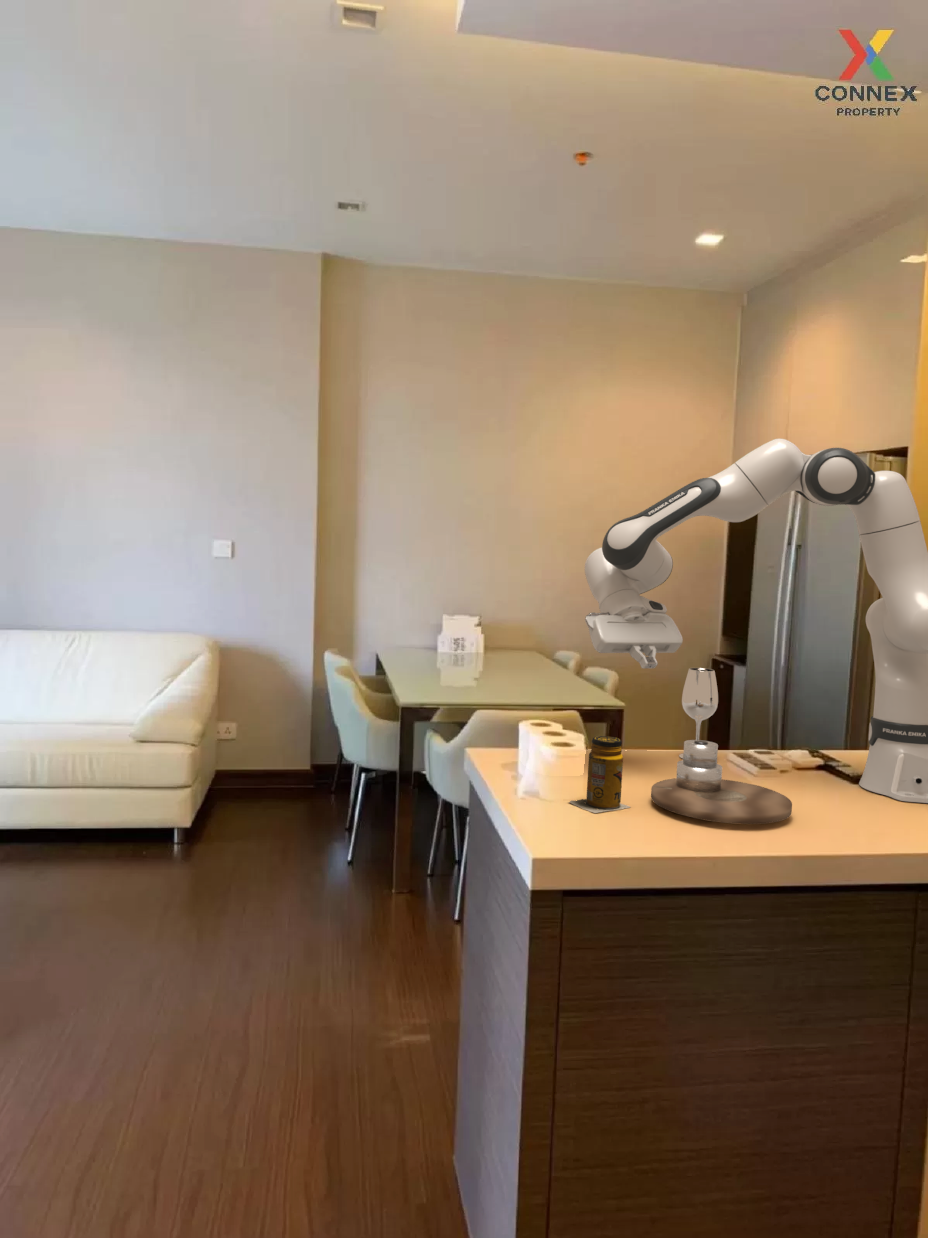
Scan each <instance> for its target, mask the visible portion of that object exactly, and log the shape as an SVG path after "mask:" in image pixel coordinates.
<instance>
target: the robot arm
mask: <svg viewBox="0 0 928 1238" xmlns="http://www.w3.org/2000/svg"><path fill="white" fill-rule="evenodd" d="M791 492H795V493H798V494H799V495H801V497H803V498H804V499H806V500H807V501H809V502H811V503H813V504H816V505H819V506H825V507H834V506H838V505H839V506H840V505H845V506H847V508H849V510H850V511H851V512H852V514H853V516H854V518H855V522H856V527H857V531H858V536H859V540H860V544H861V548H862V549H861V550H862V552H863V558H864V562H865V566H866V570H867V573H868V575H869V576H870V577H871V578H872V580H873V581H874V583H875V585H876V587H877V589H878V591H879V593H880V594H881V598H879V599H876V600H875V601H874V602H873V603H871V605H870V606H869V607H868V609H867V611H866V614H865V624H866V628H867V631H868V632H869V635H870V641H871V648H872V655H873V657H872V658H873V662H874V663H873V664H874V673H875V684H874V688H875V689H874V703H873V714H872V716H871V717H870V720H869V721H870V722H869V725H868V743H869V748H868V754H867V756H866V761H865V762H866V763H865V767H864V769H863V773H862V775H861V778H860V780H859V782H858V785H859V786H860V787H861V788H863V789H865V790H867V791H870V792H873V793H876V794H880V795H884V796H887V797H889V798H892V799H894V800H897V801H902V802H909V803H922V804H928V547H927V544H926V540H925V534H924V531H923V527H922V523H921V518H920V514H919V511H918V507H917V504H916V502H915V499H914V496H913V494H912V491H911V489H910V486H909V484H908V483H907V480H906V478H905V477H904V476H903V475H902V474H901V473H900V472H896V471H892V470H877V471H874V470H873V469H872V468H870V466H869V465H867V464H866V463H865V461H863V459H862V458H860V456H858V455H857V454H856V453H855V452H853V451H852V450H849V449H847V448H844V447H843V448H842V447H831V448H830V447H829V448H826V449H825V448H824V449H823V450H819V451H817V452H815V453H813V454H805V453H804V452H802V451H801V450H800V448H799V447H798V446H797V445H796V444H795V443H793V442H791V441H790V440H788V439H785V438H775V439H774V438H773V439H772V440H770V441H768V442H765V443H763V444H762V445H760V446H758V447H756V448H755V449H753V450H751V451H750V452H748V453H747V454H745V455H743V456H742V457H741V458H739V459H738V460H736V461H735V462H734V463H733V464H731V465H729V466H728V467H726V468H725V469H724V470H721V471H720V472H718V473H716V474H714V475H711V476H709V477H702V478H699V479H696V480H694V481H691V482H689V483H688V484H686V485H684V486H682V487H680V489H678V490H676V491H674V492H673V493H671V494H669V495H667V496H666V497H664V498H662V499H661V500H659V501H657V502H655V503H654V504H652V505H651V506H649V507H647V508H645V509H644V510H643V511H641V512H639V513H637V514H635V515H632V516H629V517H626V518H623V519H621V520H618V521H617V522H615V523H614V524H612V525H611V526H610V528H609V529H608V530H607V531H606V533H605V535H604V537H603V540H602V544H601V545H602V546H601V547H598V548H596V549H595V550H594V551H592V552H591V553H590V554H589V556H588V557H587V558H586V560H585V563H584V574H585V579H586V581H587V584H588V587H589V590H590V592H591V595H592V597H593V598H594V599H595V600H596V601H597V603H598V609H599V612H592V611H591V612H589V613H588V614H587V615H585V618H584V621H585V622H584V623H585V624H586V627H587V628H588V632H589V637H590V640H591V641H590V642H591V644H592V646H593V648H594V650H595V651H596V652H598V653H600V654H620V653H621V654H629V655H630V657H631V658H632V659H634V660H635V661H636V662H638V663H639V665H640V668H641V669H656V667H657V666H658V664H659V663H658V661H657V658H656V655H657V653H658V654H659V653H660V654H661V653H663V654H664V653H668V654H669V653H671V654H673V653H674V654H675V653H676V652H677V650H679V648H680V647H681V646H682V644H683V641H684V640H683V636H682V634H681V632H680V629H679V627H678V625H677V624H676V622H675V621H674V619H673V618H672V617H671V616H669V614H666V613H667V611H668V609H667V606H666V605H665V604H664V603H662V602H658V601H656V600H652V599H650V598H647V597H645V596H643V595H642V594H645V593H647V592H649V591H651V590H654V589H655V588H658V587H660V586H661V585H662V584H664V583H665V582H666V581H667V580H668V579H669V577H670V576H671V573H672V572H673V567H674V562H673V557H672V555H671V553H670V552H669V551H667V549H666V548H665V547H664V546H663V544H661V543H660V542H659V541H658V539H659V537H661V536H663V535H665V534H666V533H667V532H670V531H671V530H673V529H675V528H676V527H678V526H679V525H681V524H683V523H685V522H686V521H688V520H690V519H692V518H696V517H701V516H702V517H704V516H705V517H712V518H715V519H719V520H721V521H724V522H727V523H729V522H730V523H741V522H742V523H743V522H745V521H746V520H749V519H751V518H753V517H755V516H756V515H758V514H759V513H761V512H762V511H763V510H764V509H766V508H767V507H768V506H770V505H771V504H772V503H774V502H775V501H777V500H778V499H779V498H781V497H783V496H784V495H786V494H788V493H791Z"/></svg>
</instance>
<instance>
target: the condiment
mask: <svg viewBox="0 0 928 1238" xmlns="http://www.w3.org/2000/svg"><path fill="white" fill-rule="evenodd" d="M622 744H623V741H622V740H621V739H620V738H618V737H614V736H606V735H600V736H594V737H592V740H591V746H590V747H591V748H590V749H591V750H590V752H589V754H588V762H587V763H588V765H587V781H586V783H587V784H586V798H585V799H583V798H581V799H576V800H577V801H576V800H569V801H570V802H569V803H570V804H572V805H574V806H576V807H578V808H581V809H582V810H584V811H585V810H586V811H588V812H591V813H594V814H597V813H604V812H610V811H618V810H624V809H629V808H631V806H630V805H627V804H624V803H621V800H622V783H623V781H622V780H623V766H624V756H623V754H622V752H623V750H622Z"/></svg>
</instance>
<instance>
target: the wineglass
mask: <svg viewBox="0 0 928 1238" xmlns="http://www.w3.org/2000/svg"><path fill="white" fill-rule="evenodd" d="M717 684H718V683H717V677H716V672H715V670H714V669H712V668H704V667H690V668H688V671H687V674H686V678H685V681H684V685H683V690H682V694H681V695H682V696H681V705H682V709H683V711H684V712H685V714H686V715H688V716H689V717H690V718H691V719H693V720H694V721H695V725H696V726H695V729H696V730H695V740H700V733H701V732H700V731H701V725H702V724H701V723H702V721H705V720H707V719H709V718H710V717H711V716H713V715H714V714H715V712H716V711H717V709H718V704H719V692H718V690H719V689H718V685H717ZM683 754H684V752H683V753H679V755H678V757H679V758H681V760H683Z"/></svg>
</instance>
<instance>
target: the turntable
mask: <svg viewBox="0 0 928 1238" xmlns="http://www.w3.org/2000/svg"><path fill="white" fill-rule="evenodd" d="M650 797H651V798H650V799H651V801H652V802H653V803H655V804H656V805H657V806H659V807H661V809H664V810H666V811H669V812H672V813H675V814H678V815H681V816H685V817H689V818H693V819H699V820H702V821H708V822H716V823H717V822H718V823H724V824H736V825H762V824H763V825H764V824H772V823H778V822H781V821H784V820H787V819H789V818H790V817H791V816H792V813H793V812H792V809H793V802H792V801H791V799H790V798H788V797H787V796H786V795H784V794H782V793H780V792H778V791H775V790H773V789H770V788H768V787H765V786H764V787H763V786H760V785H756V784H752V783H747V782H743V781H736V780H732V779H731V780H729V779H723V778H722V780H721V790H720V791H717V792H696V791H690V790H686V789H682V788H680V787H678V786H677V785H676V778H669V779H663V780H660V781H658V782H655V783H653V785H652V786H651V788H650Z"/></svg>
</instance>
